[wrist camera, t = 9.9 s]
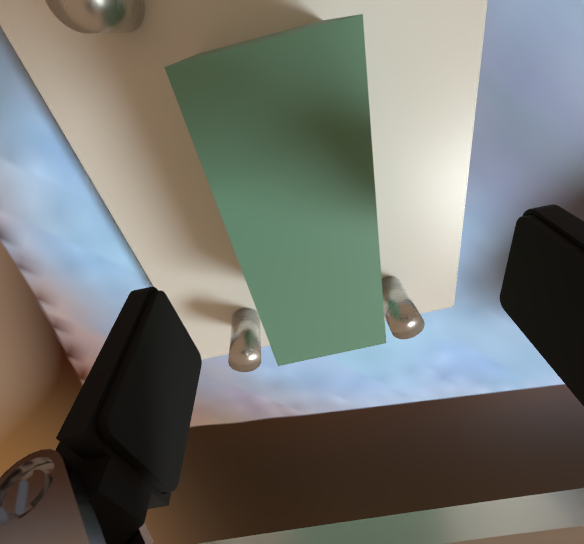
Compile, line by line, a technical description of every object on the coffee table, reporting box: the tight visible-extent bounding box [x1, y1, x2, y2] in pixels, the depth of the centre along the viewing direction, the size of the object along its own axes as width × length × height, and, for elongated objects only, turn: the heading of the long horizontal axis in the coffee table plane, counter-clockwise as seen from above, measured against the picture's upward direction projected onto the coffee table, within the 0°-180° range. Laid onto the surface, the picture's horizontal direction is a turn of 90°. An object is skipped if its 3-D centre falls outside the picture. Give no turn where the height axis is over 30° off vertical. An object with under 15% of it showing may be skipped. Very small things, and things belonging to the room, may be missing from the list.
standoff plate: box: [0, 0, 487, 372], centre depth 16 cm, size 18×22×5 cm
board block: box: [164, 14, 386, 366], centre depth 14 cm, size 5×12×6 cm, turn 12°
